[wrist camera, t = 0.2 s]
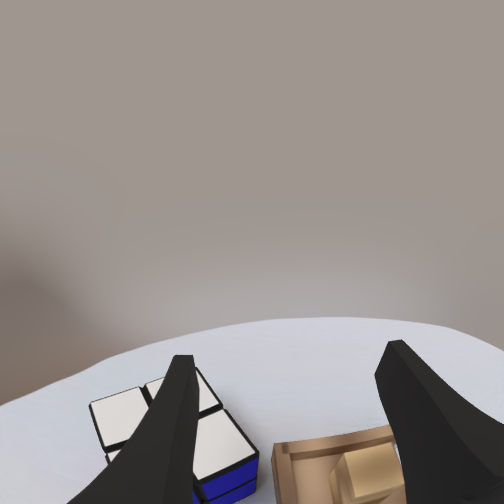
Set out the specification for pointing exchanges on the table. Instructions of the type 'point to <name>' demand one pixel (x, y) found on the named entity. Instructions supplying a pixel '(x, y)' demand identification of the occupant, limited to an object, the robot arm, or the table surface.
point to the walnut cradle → (322, 465)
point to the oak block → (365, 476)
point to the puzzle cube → (207, 441)
